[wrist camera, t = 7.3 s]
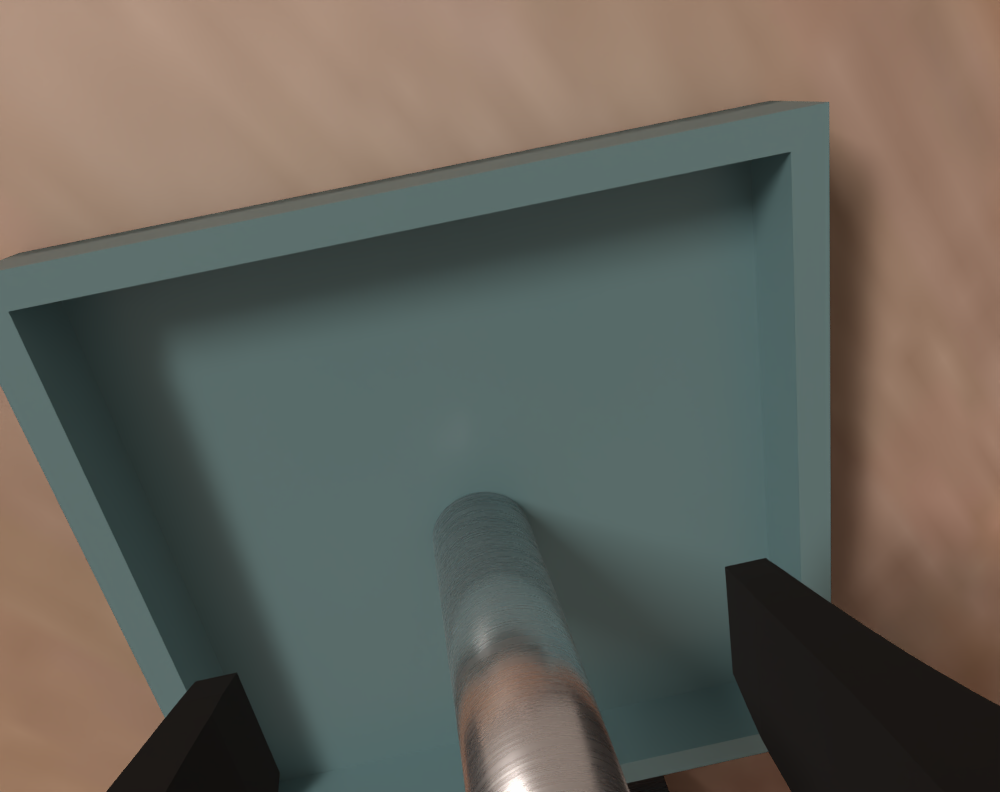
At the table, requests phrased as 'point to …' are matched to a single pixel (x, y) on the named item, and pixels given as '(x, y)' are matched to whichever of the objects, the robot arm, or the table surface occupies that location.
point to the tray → (449, 429)
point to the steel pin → (514, 659)
